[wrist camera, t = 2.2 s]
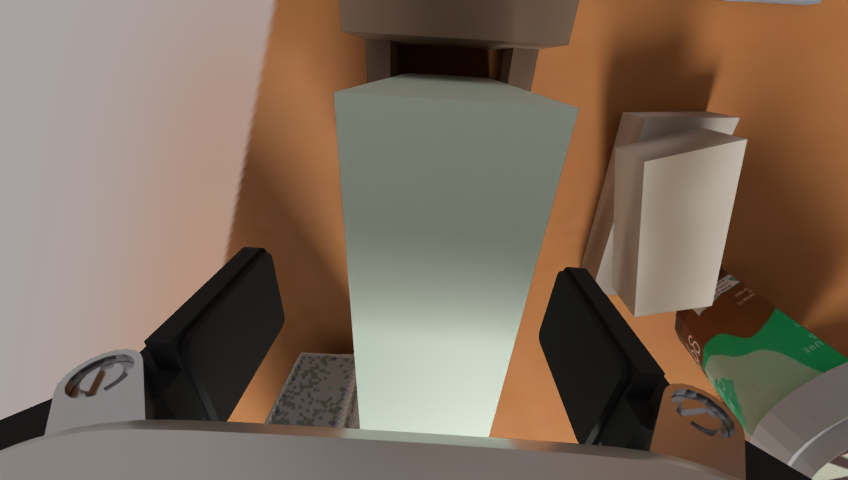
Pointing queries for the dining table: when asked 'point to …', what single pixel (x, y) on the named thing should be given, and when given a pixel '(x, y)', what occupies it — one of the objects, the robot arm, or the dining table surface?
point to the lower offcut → (629, 132)
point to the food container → (773, 378)
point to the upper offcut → (673, 218)
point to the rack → (460, 30)
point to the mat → (783, 1)
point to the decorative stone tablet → (319, 393)
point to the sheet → (442, 239)
